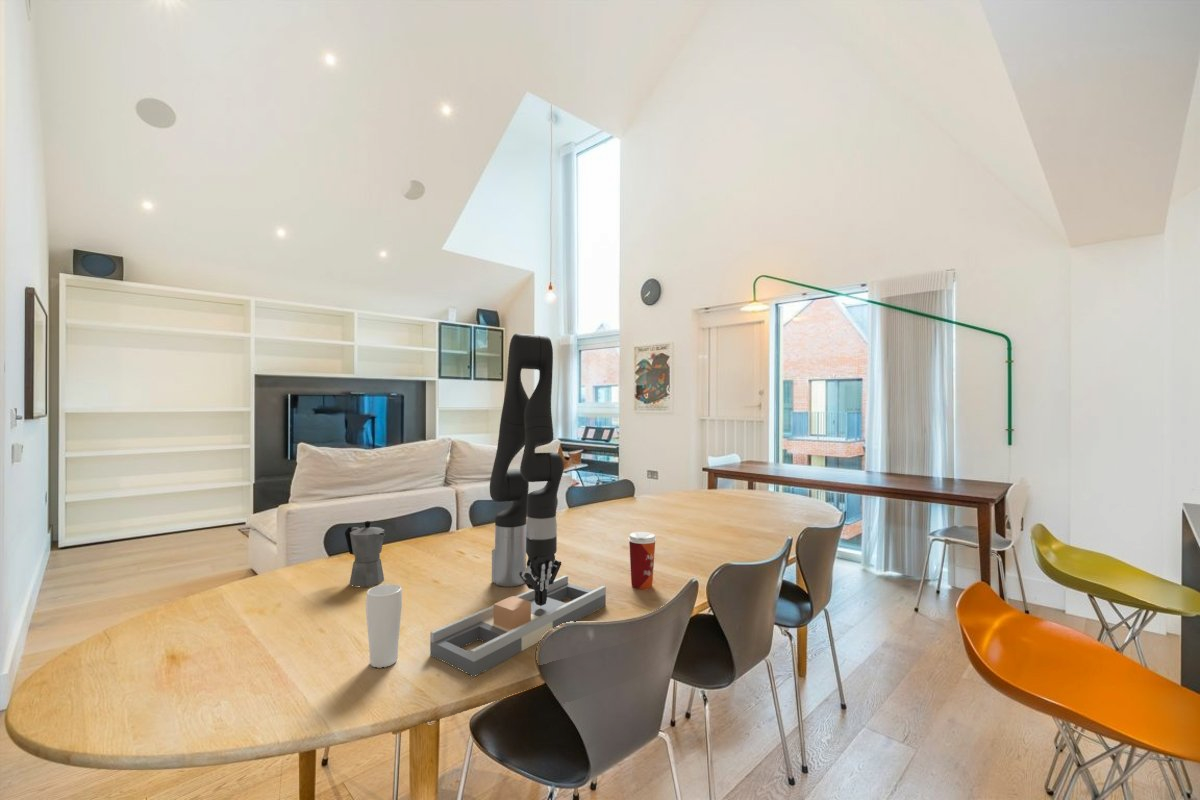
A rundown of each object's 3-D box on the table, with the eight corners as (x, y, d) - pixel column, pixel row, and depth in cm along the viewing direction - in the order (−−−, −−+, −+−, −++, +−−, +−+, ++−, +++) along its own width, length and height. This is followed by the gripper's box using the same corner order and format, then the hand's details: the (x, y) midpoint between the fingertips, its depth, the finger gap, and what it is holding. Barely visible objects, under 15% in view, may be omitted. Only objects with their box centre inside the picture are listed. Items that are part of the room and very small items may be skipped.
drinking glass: (391, 651, 110) (391, 581, 110) (407, 661, 106) (408, 589, 106) (359, 663, 105) (360, 590, 105) (376, 674, 101) (376, 598, 101)
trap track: (565, 593, 144) (565, 575, 144) (605, 605, 136) (605, 586, 136) (430, 655, 109) (430, 631, 109) (473, 677, 100) (474, 651, 100)
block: (512, 614, 122) (512, 595, 122) (530, 621, 119) (531, 601, 119) (493, 623, 117) (493, 604, 117) (512, 630, 114) (512, 610, 114)
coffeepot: (396, 580, 153) (396, 520, 153) (370, 591, 144) (371, 527, 144) (358, 572, 159) (358, 514, 159) (331, 582, 150) (332, 521, 150)
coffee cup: (654, 592, 145) (655, 539, 145) (625, 590, 147) (626, 537, 147) (657, 582, 153) (657, 532, 153) (629, 580, 155) (630, 530, 155)
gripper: (548, 526, 134) (547, 592, 134) (510, 537, 123) (510, 609, 123) (570, 531, 129) (569, 599, 129) (533, 542, 119) (532, 617, 119)
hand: (540, 604), depth 126 cm, fingers closed
